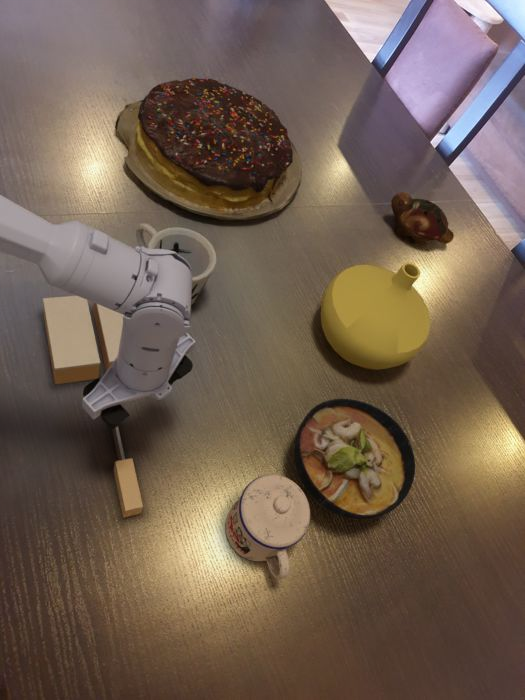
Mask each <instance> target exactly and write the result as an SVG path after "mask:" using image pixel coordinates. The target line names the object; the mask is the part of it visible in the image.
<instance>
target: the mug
mask: <svg viewBox="0 0 525 700" xmlns="http://www.w3.org/2000/svg"><path fill="white" fill-rule="evenodd" d="M144 232H145V233H148V235H149V236H151V238H150V240H149V241H148V243H147V244H146V241H145V236H144ZM135 236H136V242H137V244H138V246H139V247H141V246H143V247H145V248H148V249H166V250H171V251H174V252H176V253H177V254H178V255H180V256H181V257H183V258H184V259H185V260H186V261H187V262H188V263H189V264H190V266H191V269H192V295H191V306H192V305H193V304H194V303H195V301H196V300H197V298H198V296H199V295H200V293H201V292H202V290H203V289H204V286H205V285H206V283H207V282H208V280H209V279H210V277H211V275H212V273H213V272H214V270H215V268H216V266H217V253H216V251H215V248H214V246H213V244H212V243H211V241H209V239H207V238H206V237H205V236H203V234H201V233H199V232H197V231H195V230H192V229H191V228H190V229H189V228H185V227H179V226H177V227H168V228H165V229H161V230H159V231H157V230H156V229H155V228H154V227H153V226H151V225H150V224H149V223H144V222H140V224H139V225H138V226H136V228H135Z"/></svg>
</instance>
